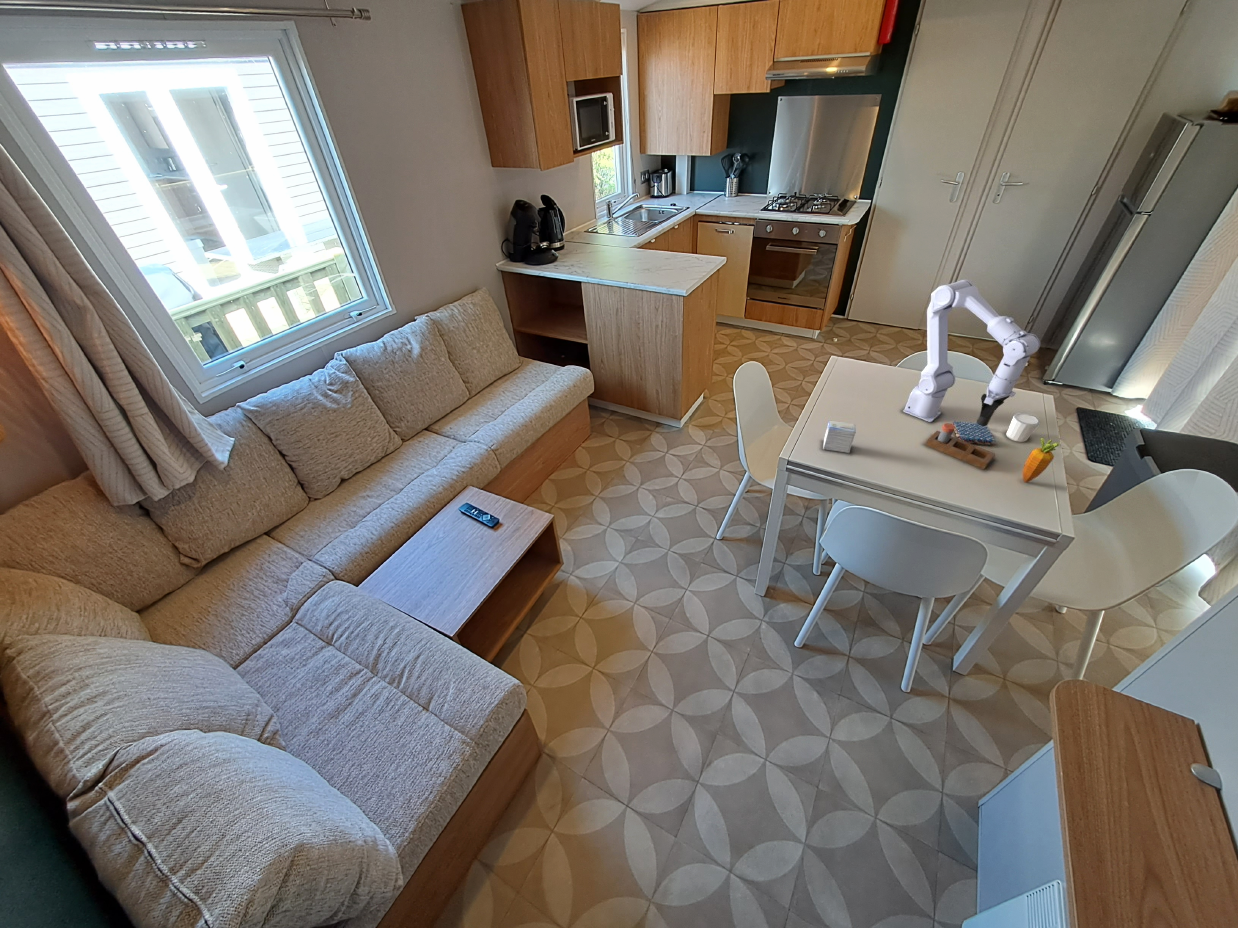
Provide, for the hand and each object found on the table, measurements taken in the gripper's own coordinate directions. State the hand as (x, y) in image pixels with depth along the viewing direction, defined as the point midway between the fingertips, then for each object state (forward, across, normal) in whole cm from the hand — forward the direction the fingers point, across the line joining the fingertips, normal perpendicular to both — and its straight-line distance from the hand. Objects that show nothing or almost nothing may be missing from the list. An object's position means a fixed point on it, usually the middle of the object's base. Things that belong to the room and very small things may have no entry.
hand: (986, 414), depth 151 cm
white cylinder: (+10, +12, -8) cm, 18 cm away
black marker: (+3, 0, 0) cm, 3 cm away
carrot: (+10, -10, -18) cm, 23 cm away
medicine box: (+11, -33, +28) cm, 45 cm away
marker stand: (+10, -9, +1) cm, 14 cm away
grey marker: (+10, -9, +6) cm, 15 cm away
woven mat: (+10, +3, +1) cm, 11 cm away
